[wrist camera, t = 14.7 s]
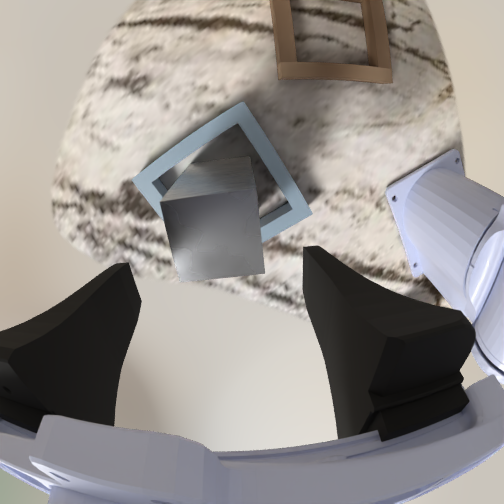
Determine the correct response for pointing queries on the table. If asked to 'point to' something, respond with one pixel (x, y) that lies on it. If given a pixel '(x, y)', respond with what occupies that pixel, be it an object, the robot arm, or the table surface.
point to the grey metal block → (214, 221)
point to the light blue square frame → (242, 115)
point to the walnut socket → (373, 73)
